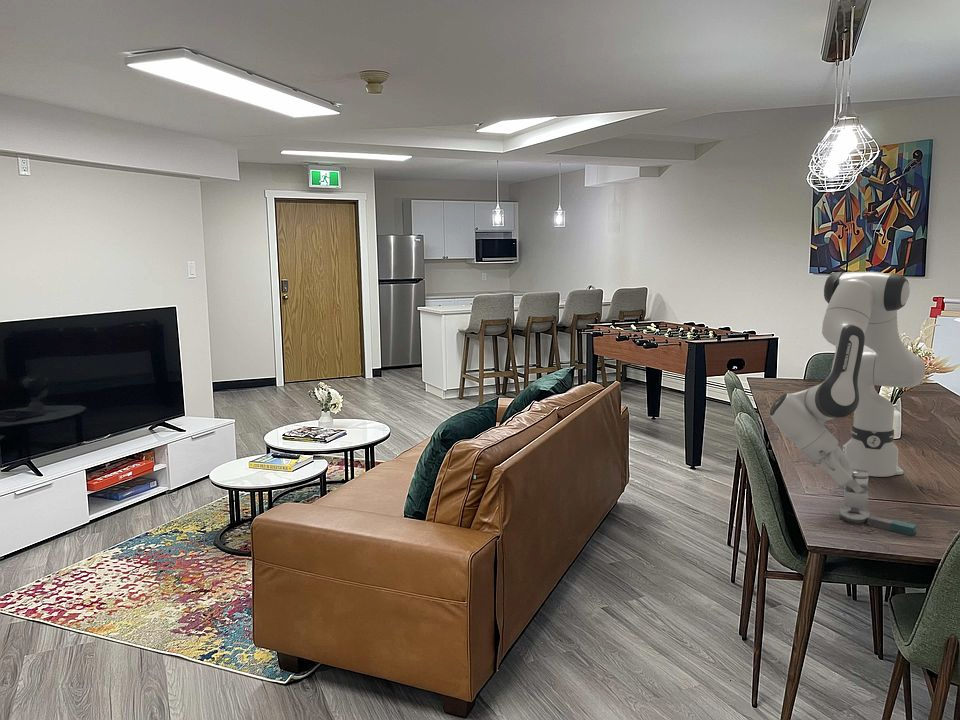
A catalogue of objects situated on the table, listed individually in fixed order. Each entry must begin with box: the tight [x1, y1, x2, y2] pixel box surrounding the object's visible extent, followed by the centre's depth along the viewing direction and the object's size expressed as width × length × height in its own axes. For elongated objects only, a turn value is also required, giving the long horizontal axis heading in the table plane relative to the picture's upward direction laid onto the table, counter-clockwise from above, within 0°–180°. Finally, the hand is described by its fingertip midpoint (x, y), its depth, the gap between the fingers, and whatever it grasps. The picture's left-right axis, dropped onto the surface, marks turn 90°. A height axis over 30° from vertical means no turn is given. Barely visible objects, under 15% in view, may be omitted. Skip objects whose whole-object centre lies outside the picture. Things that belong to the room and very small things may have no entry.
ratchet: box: [838, 505, 917, 537], centre depth 185 cm, size 18×7×6 cm, turn 46°
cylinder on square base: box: [843, 469, 870, 510], centre depth 187 cm, size 5×5×9 cm
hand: (859, 487), depth 187 cm, fingers closed on cylinder on square base, 5 cm apart
